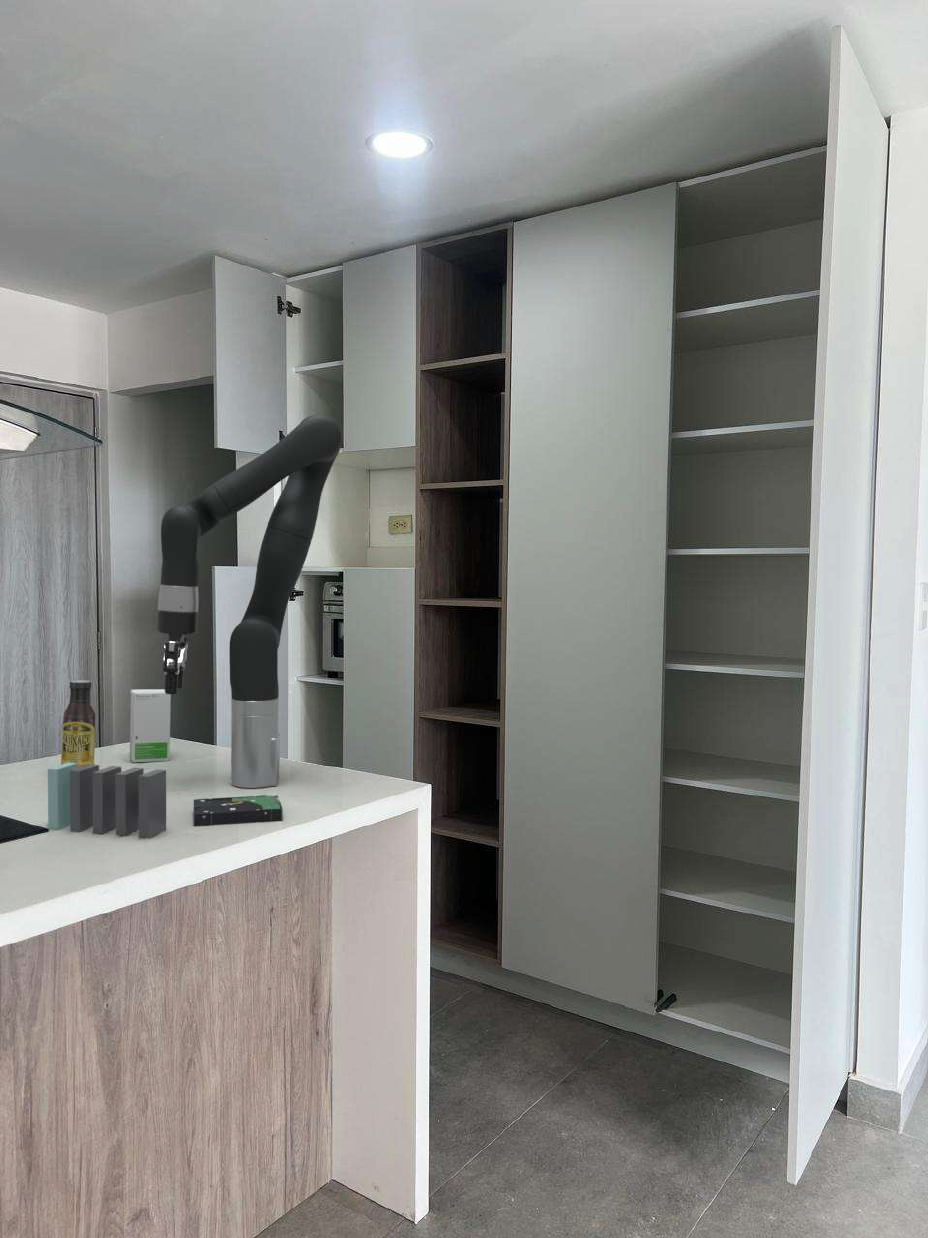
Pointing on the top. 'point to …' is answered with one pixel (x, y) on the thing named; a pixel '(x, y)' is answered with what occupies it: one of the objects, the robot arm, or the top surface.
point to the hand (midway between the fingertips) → (173, 691)
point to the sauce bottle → (78, 726)
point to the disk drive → (237, 810)
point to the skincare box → (150, 725)
